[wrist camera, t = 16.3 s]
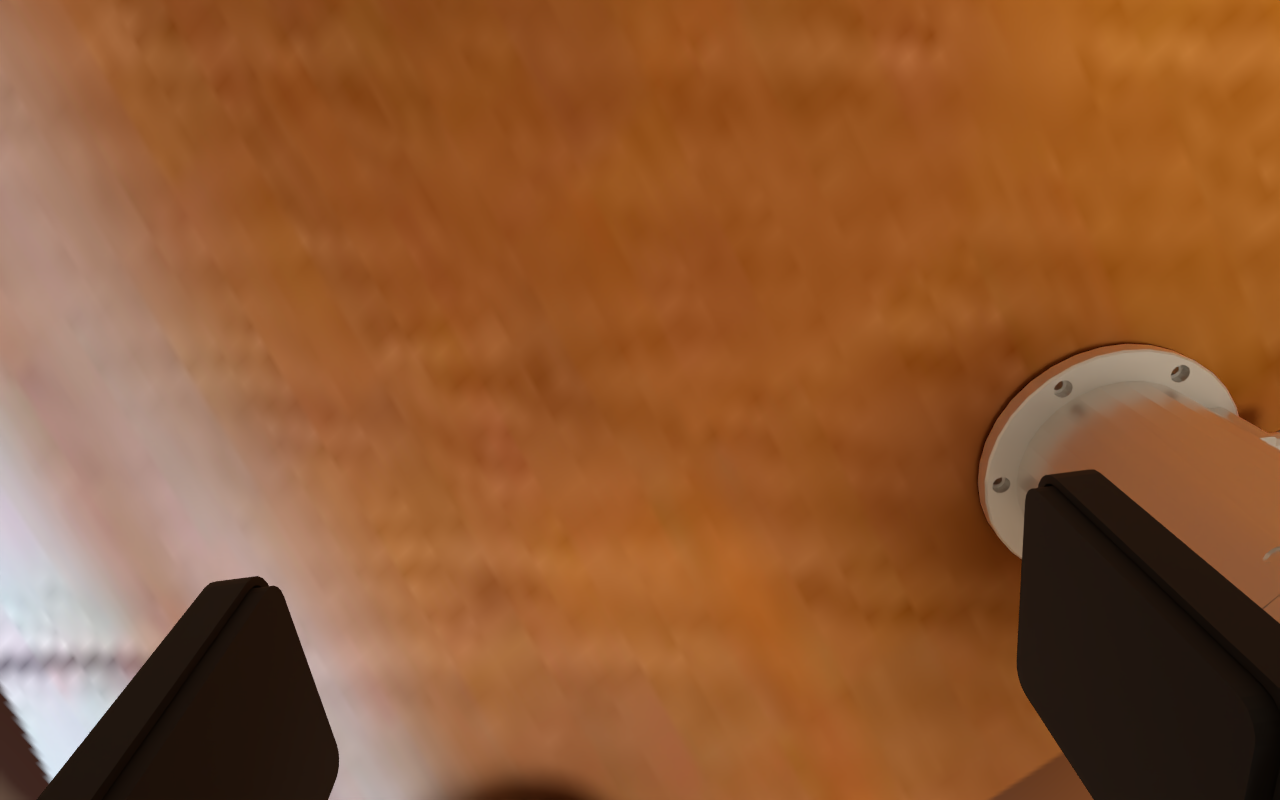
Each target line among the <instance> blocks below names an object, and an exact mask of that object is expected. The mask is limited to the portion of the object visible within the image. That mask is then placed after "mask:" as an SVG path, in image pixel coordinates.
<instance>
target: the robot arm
mask: <svg viewBox="0 0 1280 800" xmlns="http://www.w3.org/2000/svg"><path fill="white" fill-rule="evenodd" d="M978 489H979V496H980V503H981V506H982V509H983V511H984V514H985V516H986V519H987V522H988V523H989V525H990V526H991V527H992V529H993V530H994V532H995V533H996V535H997V536H998V537H999V539H1000V540H1001V541H1002V542H1003V543H1004V544H1005V545H1006V546H1007V547H1008V549H1009V550H1010V551H1011V552H1012V553H1013V554H1015V555H1016V556H1018V557H1019V558H1020V559H1022V569H1021V588H1020V607H1019V627H1018V646H1017V671H1018V676H1019V680H1020V683H1021V686H1022V688H1023V691H1024V693H1025V694H1026V696H1027V698H1028V699H1029V701H1030V702H1031V704H1032V705H1033V707H1034V708H1035V710H1036V712H1037V713H1038V715H1039V716H1040V718H1041V719H1042V721H1043V722H1044V724H1045V725H1046V727H1047V728H1048V730H1049V732H1050V733H1051V735H1052V736H1053V738H1054V739H1055V741H1056V742H1057V744H1058V745H1059V747H1060V748H1061V750H1062V752H1063V753H1064V755H1065V756H1066V758H1067V759H1068V761H1069V762H1070V764H1071V765H1072V767H1073V768H1074V770H1075V771H1076V773H1077V775H1078V776H1079V778H1080V779H1081V781H1082V782H1083V784H1084V785H1085V787H1086V788H1087V790H1088V791H1089V793H1090V794H1091V796H1092V798H1093V799H1094V800H1280V430H1279V431H1277V432H1274V433H1267V432H1265V431H1264V430H1262V429H1260V428H1258V427H1257V426H1255V425H1253V424H1251V423H1249V422H1248V421H1246V420H1244V419H1242V418H1241V417H1239V415H1238V411H1237V407H1236V405H1235V403H1234V401H1233V399H1232V397H1231V395H1230V393H1229V391H1228V389H1227V388H1226V387H1225V386H1224V384H1223V383H1222V382H1221V381H1220V380H1219V379H1218V378H1217V377H1216V376H1215V375H1214V374H1213V372H1211V371H1209V370H1208V369H1206V368H1205V367H1203V366H1202V365H1200V364H1199V363H1197V362H1196V361H1194V360H1192V359H1190V358H1188V357H1186V356H1184V355H1182V354H1180V353H1177V352H1175V351H1173V350H1169V349H1165V348H1161V347H1157V346H1153V345H1142V344H1120V345H1113V346H1105V347H1100V348H1096V349H1093V350H1090V351H1087V352H1083V353H1080V354H1077V355H1075V356H1072V357H1070V358H1068V359H1066V360H1064V361H1062V362H1060V363H1058V364H1056V365H1054V366H1052V367H1051V368H1049V369H1048V370H1046V371H1045V372H1044V373H1042V374H1041V375H1039V376H1038V377H1036V378H1035V379H1034V380H1032V381H1031V382H1030V383H1029V384H1027V385H1026V386H1025V387H1024V388H1023V389H1022V390H1021V391H1020V392H1019V393H1018V394H1017V395H1016V396H1015V397H1014V398H1013V399H1012V400H1011V401H1010V403H1009V404H1008V405H1007V407H1006V408H1005V409H1004V411H1003V412H1002V413H1001V415H1000V416H999V417H998V419H997V420H996V422H995V424H994V426H993V428H992V430H991V432H990V434H989V436H988V438H987V440H986V442H985V446H984V449H983V453H982V456H981V459H980V463H979V475H978ZM338 768H339V753H338V748H337V744H336V741H335V738H334V736H333V733H332V730H331V727H330V724H329V722H328V719H327V716H326V713H325V710H324V708H323V705H322V702H321V699H320V696H319V694H318V691H317V688H316V685H315V682H314V680H313V677H312V674H311V671H310V668H309V665H308V663H307V660H306V657H305V654H304V651H303V649H302V646H301V643H300V640H299V637H298V635H297V632H296V629H295V626H294V623H293V621H292V618H291V615H290V612H289V609H288V607H287V604H286V601H285V598H284V596H283V594H282V592H281V590H280V589H279V588H278V587H276V586H269V585H268V583H267V582H266V581H265V580H264V579H263V578H261V577H258V576H255V577H248V578H240V579H232V580H224V581H217V582H212V583H210V584H209V585H207V586H206V587H205V588H204V589H203V591H202V592H201V593H200V594H199V596H198V597H197V598H196V600H195V601H194V602H193V603H192V605H191V606H190V607H189V608H188V610H187V611H186V612H185V613H184V615H183V616H182V617H181V618H180V620H179V621H178V622H177V623H176V625H175V626H174V627H173V629H172V630H171V631H170V632H169V634H168V635H167V636H166V637H165V639H164V640H163V641H162V642H161V644H160V645H159V646H158V647H157V649H156V650H155V651H154V652H153V654H152V655H151V656H150V658H149V659H148V660H147V661H146V663H145V664H144V665H143V666H142V668H141V669H140V670H139V671H138V673H137V674H136V675H135V676H134V678H133V679H132V680H131V681H130V683H129V684H128V685H127V687H126V688H125V689H124V690H123V692H122V693H121V694H120V695H119V697H118V698H117V699H116V700H115V702H114V703H113V704H112V705H111V707H110V708H109V709H108V711H107V712H106V713H105V714H104V716H103V717H102V718H101V719H100V721H99V722H98V723H97V724H96V726H95V727H94V728H93V729H92V731H91V732H90V733H89V734H88V736H87V737H86V738H85V740H84V741H83V742H82V743H81V745H80V746H79V747H78V748H77V750H76V751H75V752H74V753H73V755H72V756H71V757H70V758H69V760H68V761H67V762H66V763H65V765H64V766H63V767H62V769H61V770H60V771H59V772H58V774H57V775H56V776H55V777H54V779H53V780H52V781H51V782H50V784H49V785H48V786H47V787H46V789H45V790H44V791H43V792H42V794H41V795H40V796H39V798H38V799H37V800H328V798H329V796H330V793H331V791H332V788H333V786H334V783H335V780H336V777H337V774H338Z"/></svg>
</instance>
